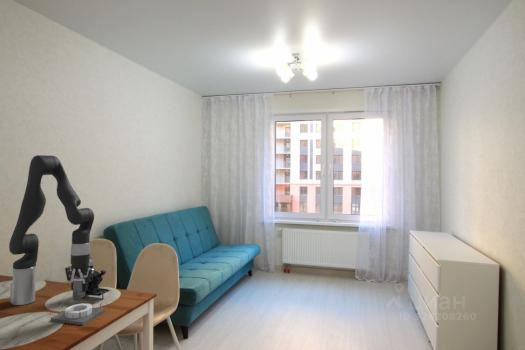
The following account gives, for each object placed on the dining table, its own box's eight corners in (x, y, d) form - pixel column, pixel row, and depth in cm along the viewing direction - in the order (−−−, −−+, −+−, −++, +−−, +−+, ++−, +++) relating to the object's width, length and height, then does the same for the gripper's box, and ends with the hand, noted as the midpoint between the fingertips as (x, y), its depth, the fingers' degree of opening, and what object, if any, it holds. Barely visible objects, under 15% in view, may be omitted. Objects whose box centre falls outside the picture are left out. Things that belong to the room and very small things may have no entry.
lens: (70, 297, 144) (70, 277, 144) (78, 293, 148) (78, 273, 149) (79, 298, 143) (80, 277, 143) (88, 294, 148) (88, 274, 148)
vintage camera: (98, 304, 161) (101, 264, 161) (71, 299, 164) (74, 260, 164) (110, 297, 170) (113, 259, 170) (85, 293, 173) (88, 256, 173)
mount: (50, 320, 140) (50, 312, 140) (74, 308, 154) (75, 300, 154) (82, 325, 137) (83, 316, 137) (104, 311, 151) (105, 304, 151)
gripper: (60, 253, 143) (59, 292, 143) (88, 255, 141) (87, 295, 141) (73, 250, 151) (72, 286, 151) (100, 251, 148) (99, 289, 148)
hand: (79, 290), depth 146 cm, fingers closed on lens, 4 cm apart
